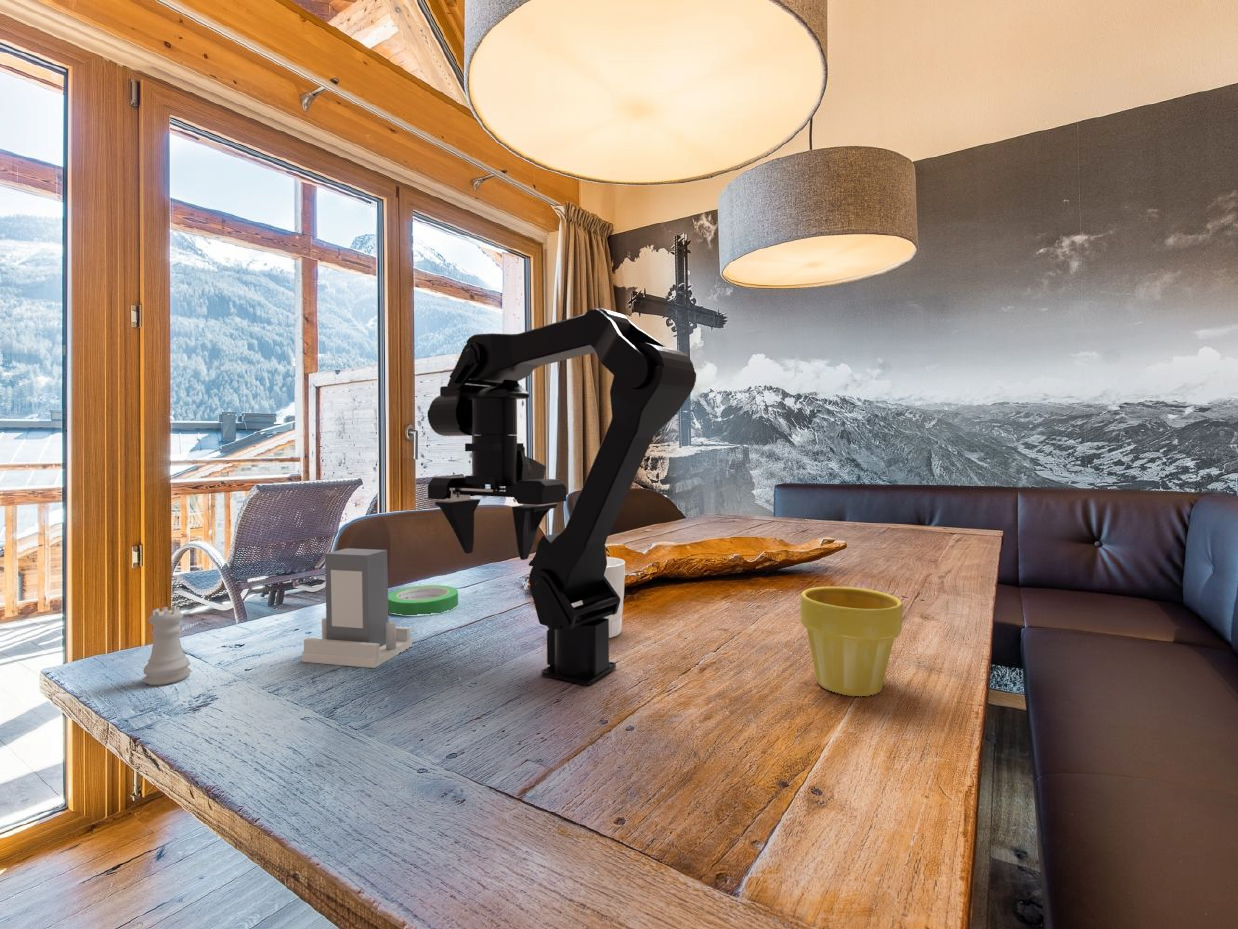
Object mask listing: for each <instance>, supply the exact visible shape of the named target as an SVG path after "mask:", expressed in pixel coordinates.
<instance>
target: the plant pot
mask: <svg viewBox="0 0 1238 929" xmlns="http://www.w3.org/2000/svg"><path fill="white" fill-rule="evenodd" d="M903 607H904V606H903V602H902V601H901V600H900V599H899V598H898V597H896V596H894V595H892V594H889V593H885V592H881V591H876V590H873V589H867V588H861V587H860V588H859V587H849V586H817V587H812V588H807V589H805V590H803V591H802V592H801V594H800V622H801V624H802V625H803V627H805V628H806V630H807V631H806V632H807V635H808V636H807V637H808V641H809V646H810V652H811V656H812V664H813V668H814V673H815V679H816V682H817V683H818V685H820V687H821V688H823V689H825V690H827V691H829V692H831V691H832V692H831V693H834V692H835V693H834V694H837V693H838V694H837V695H841V694H842V696H846V695H847V696H848V697H855V696H859V698H861V697H862V696H866V697H871V696H870V695H872V696H875V695H877V693H878V692H879V693H881V691H882V687H883V683H884V680H885V676H886V672H887V669H888V665H889V660H890V656H891V653H892V652H891V651H892V649H893V646H894V642H895V639H896V638H899V636H900V635H901V633H902V628H903V610H904V608H903ZM879 693H878V694H879ZM874 694H875V695H874ZM860 696H861V697H860ZM862 698H863V697H862Z"/></svg>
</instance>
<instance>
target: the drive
mask: <svg viewBox="0 0 1238 929" xmlns="http://www.w3.org/2000/svg"><path fill="white" fill-rule="evenodd" d="M324 563H325V564H324V566H325V569H324V570H325V618H326V628H327V639H328V640H340V641H353V642H366V643H379V644H380V647H382V646H383V645H385V644H386V623H388V622H389V613H388V594H389V584H388V582H389V577H388V574H389V572H388V571H389V570H388V568H389V566H388V549H374V548H373V549H372V548H371V549H370V548H352V547H351V548H342V549H339V550H335V551H331V552H327V553H324Z"/></svg>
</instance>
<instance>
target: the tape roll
mask: <svg viewBox="0 0 1238 929" xmlns="http://www.w3.org/2000/svg"><path fill="white" fill-rule="evenodd" d="M457 605H458V606H459V590H458V589H457V588H456V587H453V586H449V585H441V584H436V585H435V584H434V585H433V584H431V585H429V584H428V585H417V586H410V587H405V588H401V589H396V590H395V591H392V592H390V593H388V612H390V613H396V614H402V615H417V614H431V613H441V612H444V611H447V610H451V609H453V608H454V607H456V606H457ZM453 610H454V609H453ZM451 611H452V610H451ZM441 614H442V613H441Z"/></svg>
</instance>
